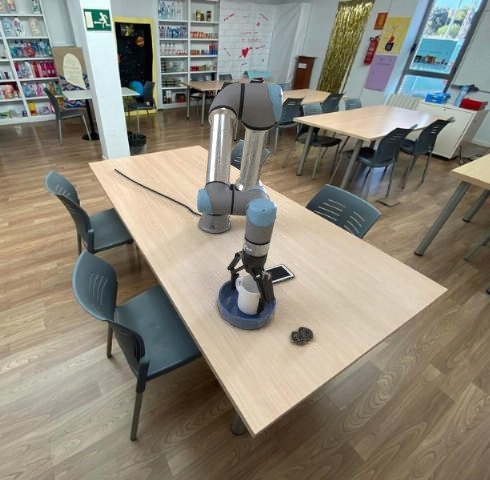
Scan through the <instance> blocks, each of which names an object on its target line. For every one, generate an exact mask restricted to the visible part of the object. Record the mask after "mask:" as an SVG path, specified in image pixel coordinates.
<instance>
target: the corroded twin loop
mask: <svg viewBox="0 0 490 480" xmlns="http://www.w3.org/2000/svg"><path fill="white" fill-rule="evenodd" d="M303 332H304V333H303ZM305 334H306V335H305ZM290 337H291V341H292V342H293V343H295V344H298V345H303V344H305V343H306V341H311V340H313V339H314V332H313V330H312V329H311V328H308V327H306V326H299V327H298V330H293V331H291V333H290Z"/></svg>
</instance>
